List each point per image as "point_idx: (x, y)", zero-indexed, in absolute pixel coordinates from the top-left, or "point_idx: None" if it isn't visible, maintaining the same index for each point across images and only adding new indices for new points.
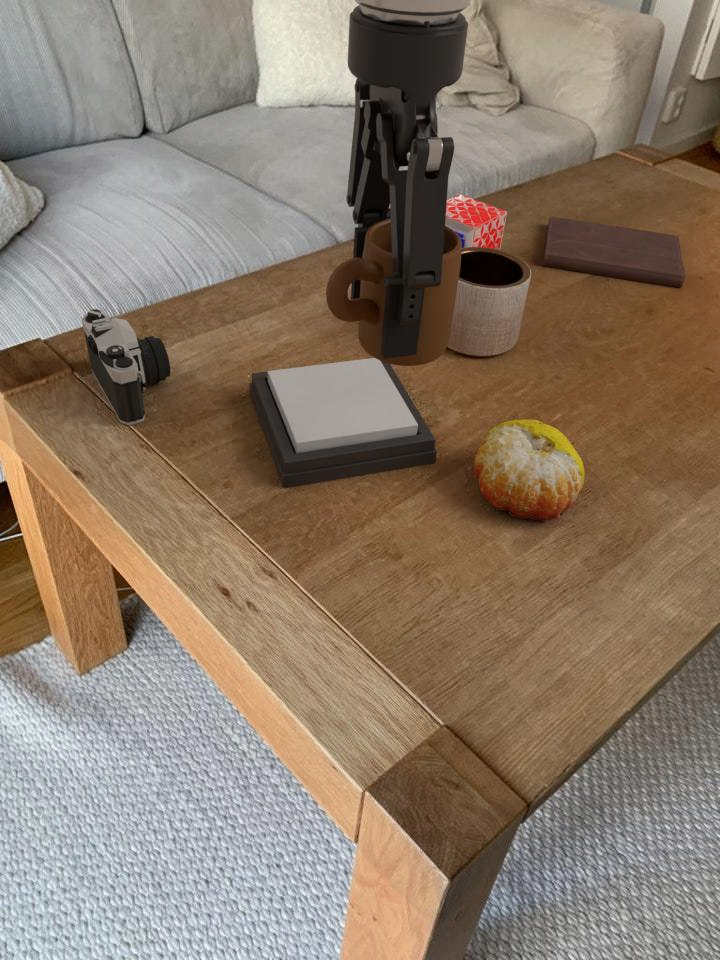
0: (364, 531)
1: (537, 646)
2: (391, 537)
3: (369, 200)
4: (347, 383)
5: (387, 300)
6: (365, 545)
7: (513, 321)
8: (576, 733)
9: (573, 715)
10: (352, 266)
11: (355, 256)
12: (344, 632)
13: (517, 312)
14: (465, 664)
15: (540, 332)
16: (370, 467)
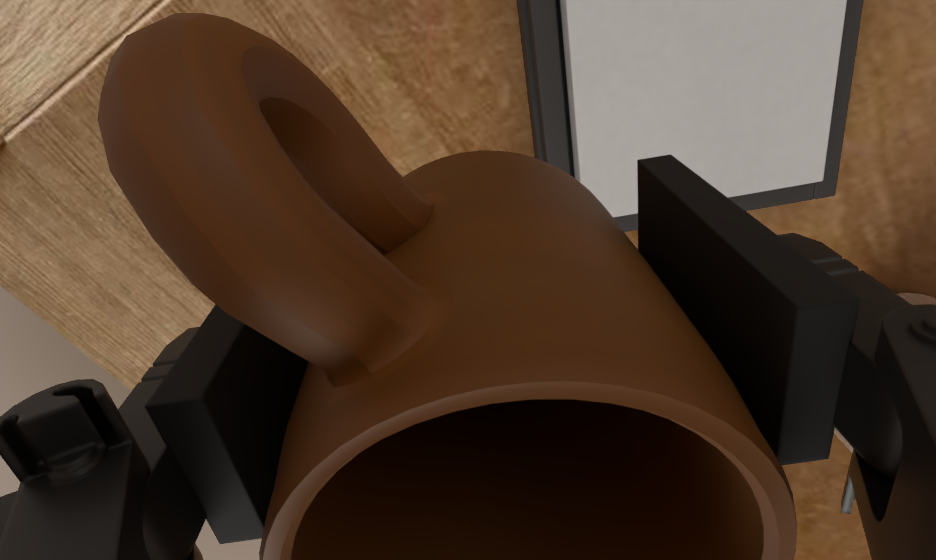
0: (382, 79)
1: (166, 288)
2: (367, 125)
3: (931, 527)
4: (749, 101)
5: (212, 332)
6: (348, 76)
7: (838, 435)
8: (36, 298)
9: (63, 302)
10: (167, 235)
11: (730, 235)
12: (146, 11)
13: (851, 451)
14: (117, 190)
15: (841, 447)
16: (531, 114)
